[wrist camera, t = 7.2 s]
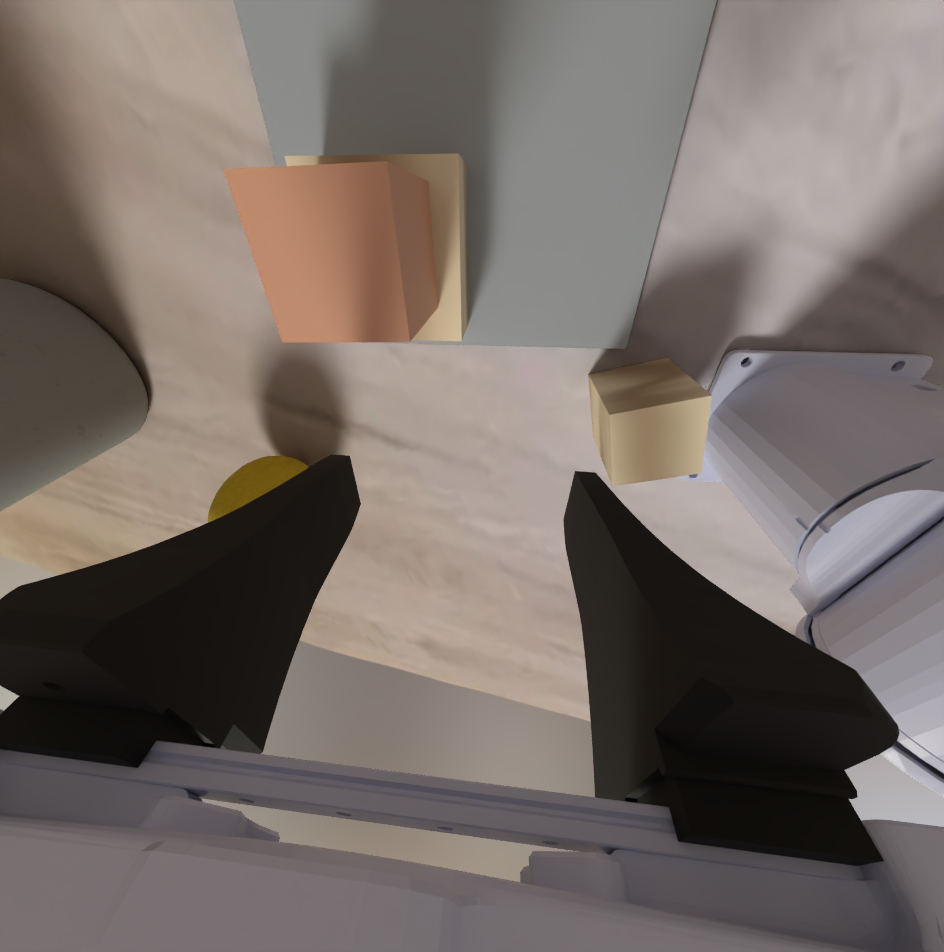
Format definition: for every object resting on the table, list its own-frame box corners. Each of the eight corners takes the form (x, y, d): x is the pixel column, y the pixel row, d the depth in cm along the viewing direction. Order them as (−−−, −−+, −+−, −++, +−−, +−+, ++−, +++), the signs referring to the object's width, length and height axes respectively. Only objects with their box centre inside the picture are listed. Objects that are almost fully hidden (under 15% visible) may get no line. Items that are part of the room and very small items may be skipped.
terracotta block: (428, 181, 12) (386, 160, 8) (437, 308, 14) (410, 342, 10) (316, 186, 12) (223, 169, 8) (344, 309, 15) (282, 342, 11)
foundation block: (467, 164, 14) (458, 153, 11) (468, 324, 17) (461, 341, 15) (322, 166, 14) (284, 155, 12) (352, 322, 18) (327, 338, 15)
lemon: (248, 437, 24) (150, 518, 17) (323, 430, 23) (249, 513, 16) (285, 499, 27) (214, 587, 20) (352, 495, 26) (300, 586, 19)
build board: (793, -332, 8) (811, -366, 8) (623, 345, 18) (626, 348, 17) (177, -266, 10) (160, -292, 9) (324, 338, 19) (320, 341, 19)
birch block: (667, 356, 18) (711, 395, 14) (663, 423, 20) (701, 473, 16) (588, 373, 19) (609, 414, 15) (592, 436, 21) (612, 486, 17)
